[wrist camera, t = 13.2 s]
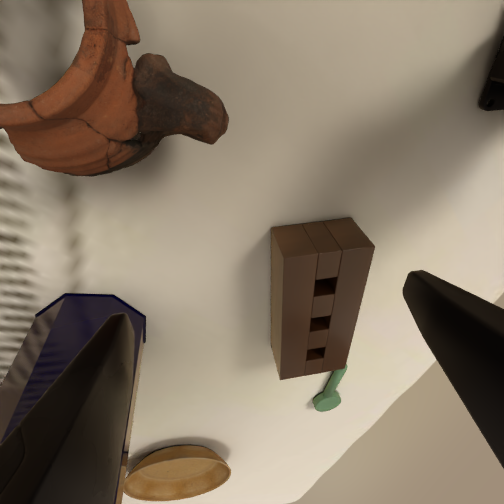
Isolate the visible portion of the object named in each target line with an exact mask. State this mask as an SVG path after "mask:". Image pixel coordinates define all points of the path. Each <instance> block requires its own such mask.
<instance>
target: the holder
mask: <svg viewBox="0 0 504 504" xmlns="http://www.w3.org/2000/svg"><path fill="white" fill-rule="evenodd" d="M374 249H375V246H374V244H373V243H372V242H371V241H370V240H369V238H368V237H367V236H366V235H365V234H364V232H363V231H362V230H361V229H360V228H359V227H358V225H357V224H356V223H355V222H354V221H353V219H352V218H346V219H337V220H329V221H323V222H313V223H305V224H302V225H301V224H296V225H287V226H279V227H272V228H271V347H272V351H273V355H274V359H275V363H276V367H277V371H278V374H279V378H280V380H283V379H289V378H295V377H300V376H306V375H312V374H318V373H321V372H322V373H323V372H328V371H334V370H340V369H345V366H346V362H347V358H348V354H349V350H350V346H351V342H352V338H353V334H354V330H355V326H356V322H357V318H358V314H359V310H360V306H361V302H362V298H363V293H364V289H365V285H366V281H367V277H368V273H369V269H370V265H371V261H372V257H373V253H374Z"/></svg>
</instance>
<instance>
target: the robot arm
mask: <svg viewBox="0 0 504 504" xmlns="http://www.w3.org/2000/svg"><path fill="white" fill-rule="evenodd" d="M489 100H490V101H489ZM488 101H489V103H488V104H487V102H488ZM479 108H480V109H482V110H485V111H492V110H504V36H503V39H502V42H501V45H500V47H499V50H498V53H497V55H496V58H495V61H494V63H493V66H492V69H491V72H490V74H489V77H488V80H487V82H486V85H485V88H484V91H483V93H482V96H481V99H480V101H479ZM403 297H404V299H405V301H406V303H407V305H408V307H409V309H410V311H411V313H412V316H413V318H414V320H415V322H416V324H417V326H418V328H419V330H420V332H421V334H422V336H423V338H424V339H425V341H426V343H427V345H428V346H429V348H430V349H431V351H432V353H433V354H434V356H435V358H436V359H437V361H438V362H439V364H440V366H441V367H442V369H443V371H444V372H445V374H446V376H447V377H448V379H449V380H450V382H451V384H452V385H453V387H454V389H455V390H456V392H457V393H458V395H459V397H460V398H461V400H462V401H463V403H464V405H465V406H466V408H467V410H468V411H469V413H470V415H471V416H472V418H473V420H474V421H475V423H476V424H477V426H478V427H479V429H480V431H481V433H482V434H483V436H484V437H485V439H486V441H487V442H488V444H489V446H490V447H491V449H492V451H493V452H494V454H495V455H496V457H497V459H498V460H499V462H500V463H501V465H502V467H503V468H504V309H502V308H500V307H498V306H496V305H494V304H492V303H490V302H488V301H486V300H484V299H482V298H480V297H478V296H476V295H473V294H471V293H469V292H467V291H465V290H463V289H461V288H459V287H457V286H455V285H453V284H451V283H449V282H447V281H445V280H442V279H440V278H438V277H436V276H434V275H432V274H430V273H428V272H426V271H423V270H418V271H411V272H410V273H409V274H408V276H407V279H406V281H405V284H404V287H403ZM134 343H135V334H134V330H133V327H132V325H131V322H130V320H129V317H128V315H127V314H126V313H118V314H112V315H111V316H110V317H109V318H108V319H107V320H106V321H105V322H104V324H103V325H102V326H101V327H100V328H99V329H98V331H97V332H96V333H95V334H94V335H93V337H92V338H91V339H90V340H89V341H88V342H87V344H86V345H85V346H84V347H83V348H82V350H81V351H80V352H79V353H78V354H77V355H76V357H75V358H74V359H73V360H72V361H71V363H70V364H69V365H68V366H67V367H66V368H65V370H64V371H63V372H62V373H61V374H60V375H59V377H58V378H57V379H56V380H55V381H54V383H53V384H52V385H51V386H50V387H49V388H48V390H47V391H46V392H45V393H44V394H43V396H42V397H41V398H40V399H39V400H38V401H37V403H36V404H35V405H34V406H33V407H32V409H31V410H30V411H29V412H28V413H27V414H26V416H25V417H24V418H23V419H22V420H21V422H20V425H18V426H16V427H15V428H14V430H13V431H12V432H11V433H10V434H9V436H8V437H7V438H6V439H5V440H4V441H3V443H2V444H1V445H0V504H114V498H115V492H116V486H117V479H118V473H119V467H120V461H121V455H122V449H123V443H124V436H125V430H126V424H127V418H128V412H129V406H130V400H131V393H132V386H133V366H134Z"/></svg>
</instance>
